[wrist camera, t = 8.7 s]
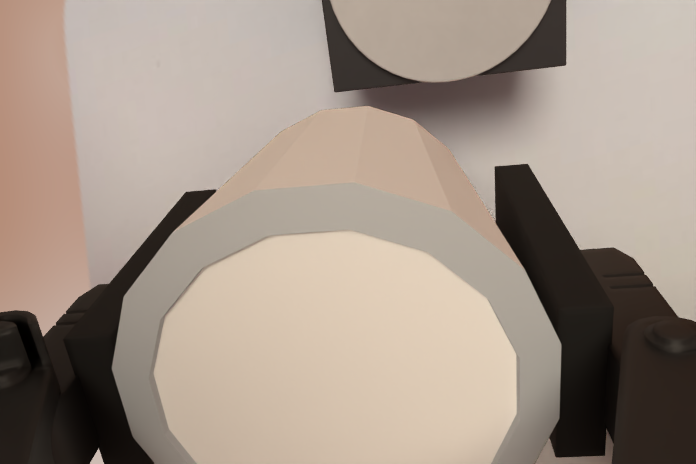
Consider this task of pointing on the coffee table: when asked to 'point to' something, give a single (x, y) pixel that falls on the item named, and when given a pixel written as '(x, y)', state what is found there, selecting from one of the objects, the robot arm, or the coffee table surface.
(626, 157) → the coffee table surface
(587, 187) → the coffee table surface
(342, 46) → the scale
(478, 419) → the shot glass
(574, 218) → the coffee table surface
